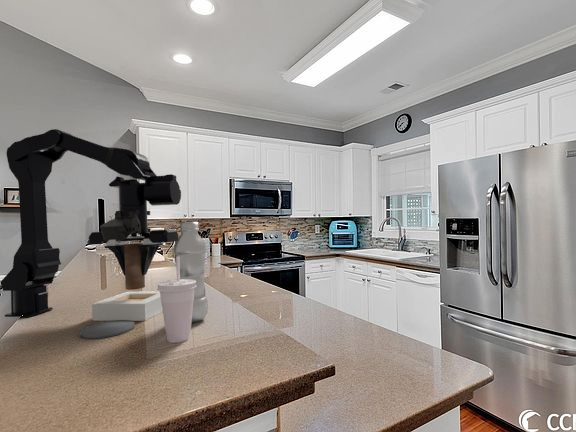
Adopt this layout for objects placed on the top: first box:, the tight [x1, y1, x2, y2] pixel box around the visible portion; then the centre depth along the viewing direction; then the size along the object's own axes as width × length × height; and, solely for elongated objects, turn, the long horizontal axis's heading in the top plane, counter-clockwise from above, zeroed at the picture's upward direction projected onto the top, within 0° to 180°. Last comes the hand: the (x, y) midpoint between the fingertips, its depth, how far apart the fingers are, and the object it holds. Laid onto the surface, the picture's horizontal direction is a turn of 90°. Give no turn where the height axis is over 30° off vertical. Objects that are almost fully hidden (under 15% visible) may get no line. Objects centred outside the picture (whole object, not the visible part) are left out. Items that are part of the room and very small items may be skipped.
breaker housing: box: [91, 290, 163, 322], centre depth 74 cm, size 12×12×4 cm
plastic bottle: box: [173, 221, 209, 323], centre depth 67 cm, size 6×7×20 cm
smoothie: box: [157, 257, 196, 344], centre depth 56 cm, size 6×6×14 cm
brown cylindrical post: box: [124, 242, 146, 291], centre depth 74 cm, size 4×4×10 cm
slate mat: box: [79, 320, 136, 340], centre depth 62 cm, size 9×9×1 cm
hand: (135, 275), depth 74 cm, fingers closed on brown cylindrical post, 4 cm apart
